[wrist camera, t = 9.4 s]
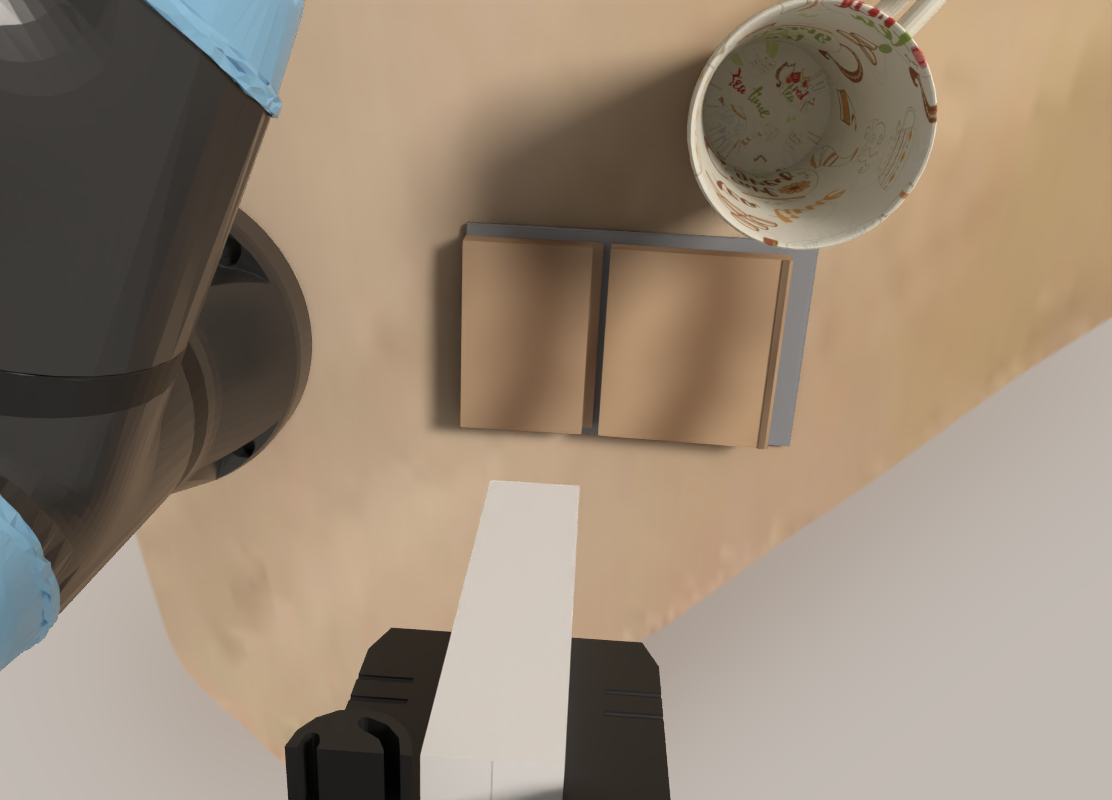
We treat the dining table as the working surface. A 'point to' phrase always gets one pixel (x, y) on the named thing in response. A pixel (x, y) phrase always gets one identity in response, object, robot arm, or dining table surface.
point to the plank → (692, 344)
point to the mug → (814, 120)
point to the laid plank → (529, 333)
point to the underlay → (801, 258)
